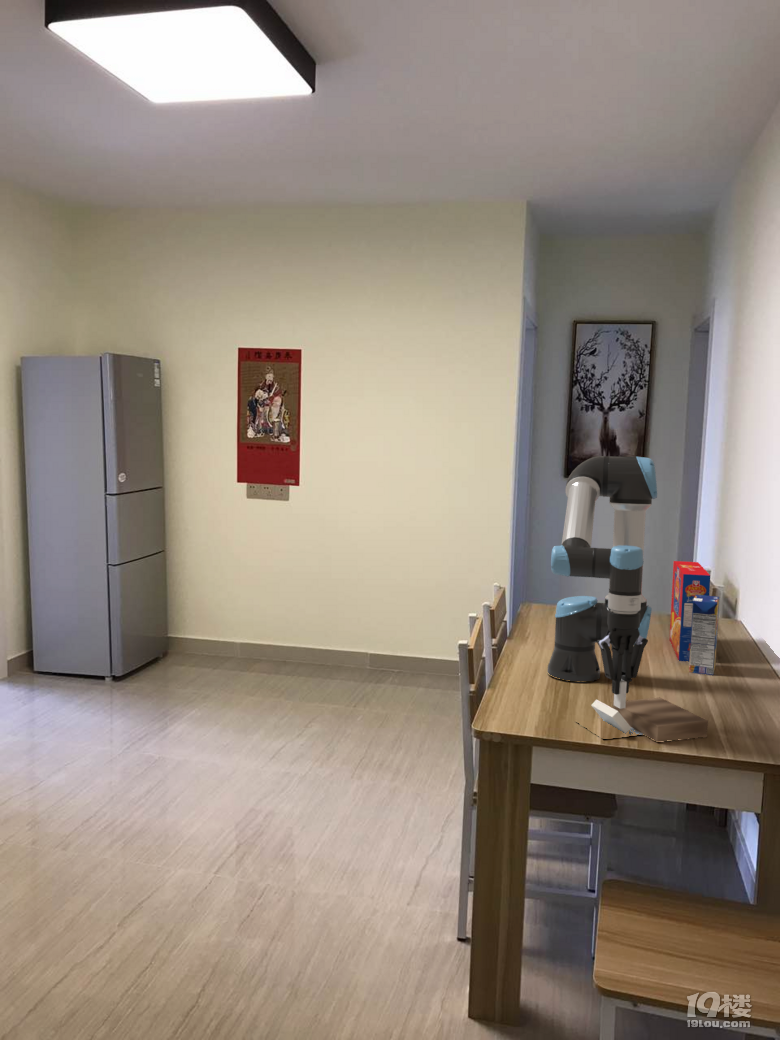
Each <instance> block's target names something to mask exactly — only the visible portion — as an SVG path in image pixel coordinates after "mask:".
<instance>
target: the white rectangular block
mask: <svg viewBox="0 0 780 1040" xmlns="http://www.w3.org/2000/svg"><path fill="white" fill-rule="evenodd" d="M591 707H592V709H594V710H595V713H597V715H599V718H602V719H603V721H605V722H607V723H608V724H610V725H612V726H613V727H615V728H617V729H618V730H620V731H622V732H623V733H625V734H626V733H627V732H628V731H629V730H630V729H631V727H630V726H629V724H628V723H627V722H626V721H625V719H624V718H623V717H622V716H621V714H620V713H619V712H618V711H617V710H615V709H613V707H611V706H609V705H608V704H606V703H604V702H603V701H600V700H598V699H595V700H594V701H593V703H592V704H591Z"/></svg>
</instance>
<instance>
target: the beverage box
mask: <svg viewBox="0 0 780 1040" xmlns="http://www.w3.org/2000/svg"><path fill="white" fill-rule="evenodd" d="M719 608H720V596H715V595H709V596H705V595H695V597H694V600H693V609H692V626H691V644H690V662H688V664H689V666H688V673H691V674H700V675H705V674H706V676H714V673H715V669H716V661H717V658H716V657H717V646H718V645H717V643H718V642H717V641H718V627H719V612H720V611H719V610H720V609H719Z"/></svg>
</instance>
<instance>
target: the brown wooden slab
mask: <svg viewBox="0 0 780 1040" xmlns="http://www.w3.org/2000/svg"><path fill="white" fill-rule="evenodd" d="M612 708H613V709H615V710H617V711H618V712H619V713H620V714H621V716H622V717H623V718H624V719H625V721H626V722H627V723H628V724H629V726H630V727H632V728H634V729H635V730H637V731H639V732H641V733H642V734H644V735H646V736H648V737H650V738H652V739H654V740H655V741H667V740H678V739H687V740H689V739H688V738H695V739H699V738H698V737H703V738H707V737H708V725H709V720H708V719H706V718H703V717H701V716H700V715H697V714H695V713H693V712H690V711H689V710H687V709H684V708H683V707H681V706H680V705H679V706H678V705H677V704H675V703H672V702H670V701H668V700H666V699H665V698H662V697H660V696H659V697H650V698H649V697H648V698H641V699H630V700H626V706H625V708H622V709H620V708H618V707H616V706H614V701H613V702H612Z"/></svg>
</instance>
